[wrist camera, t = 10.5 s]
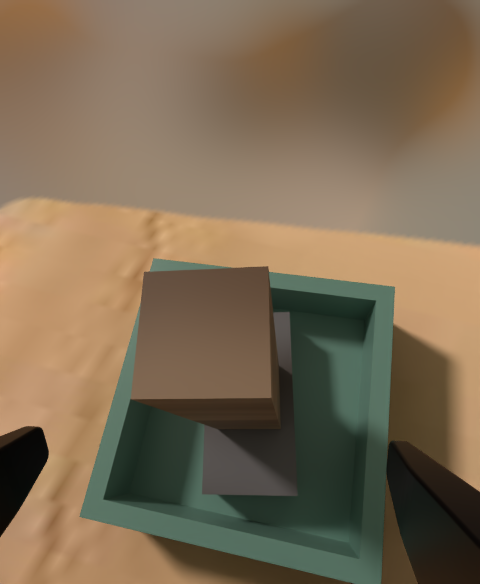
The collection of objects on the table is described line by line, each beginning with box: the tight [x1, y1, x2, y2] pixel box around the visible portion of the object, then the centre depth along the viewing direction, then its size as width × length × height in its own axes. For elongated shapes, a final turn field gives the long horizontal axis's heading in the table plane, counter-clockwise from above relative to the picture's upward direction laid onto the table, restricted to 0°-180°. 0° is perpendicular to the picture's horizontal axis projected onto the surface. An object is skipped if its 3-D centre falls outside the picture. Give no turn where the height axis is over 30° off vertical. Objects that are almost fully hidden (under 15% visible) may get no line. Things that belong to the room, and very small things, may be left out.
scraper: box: [131, 266, 298, 496], centre depth 14 cm, size 8×4×13 cm, turn 0°
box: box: [80, 259, 395, 584], centre depth 19 cm, size 12×12×4 cm
